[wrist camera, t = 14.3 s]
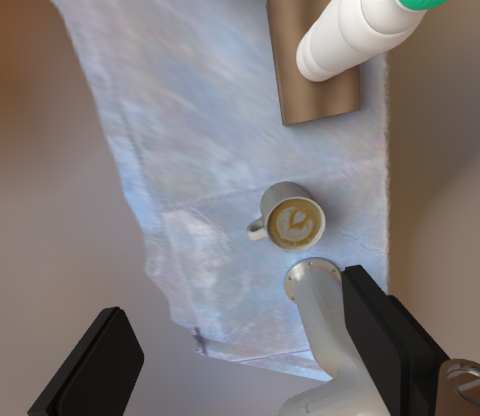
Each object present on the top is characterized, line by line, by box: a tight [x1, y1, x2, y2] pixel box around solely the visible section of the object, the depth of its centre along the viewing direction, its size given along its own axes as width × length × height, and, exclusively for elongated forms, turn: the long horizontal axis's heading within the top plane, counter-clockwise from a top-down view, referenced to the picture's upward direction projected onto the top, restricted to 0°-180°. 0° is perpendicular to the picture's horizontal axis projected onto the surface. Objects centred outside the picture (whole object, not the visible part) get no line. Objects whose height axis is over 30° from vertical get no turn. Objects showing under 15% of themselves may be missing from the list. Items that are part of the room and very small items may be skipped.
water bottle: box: [296, 0, 448, 82], centre depth 25 cm, size 7×7×25 cm
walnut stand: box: [266, 0, 360, 125], centre depth 39 cm, size 12×18×4 cm, turn 12°
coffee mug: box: [247, 182, 326, 252], centre depth 45 cm, size 13×10×10 cm
